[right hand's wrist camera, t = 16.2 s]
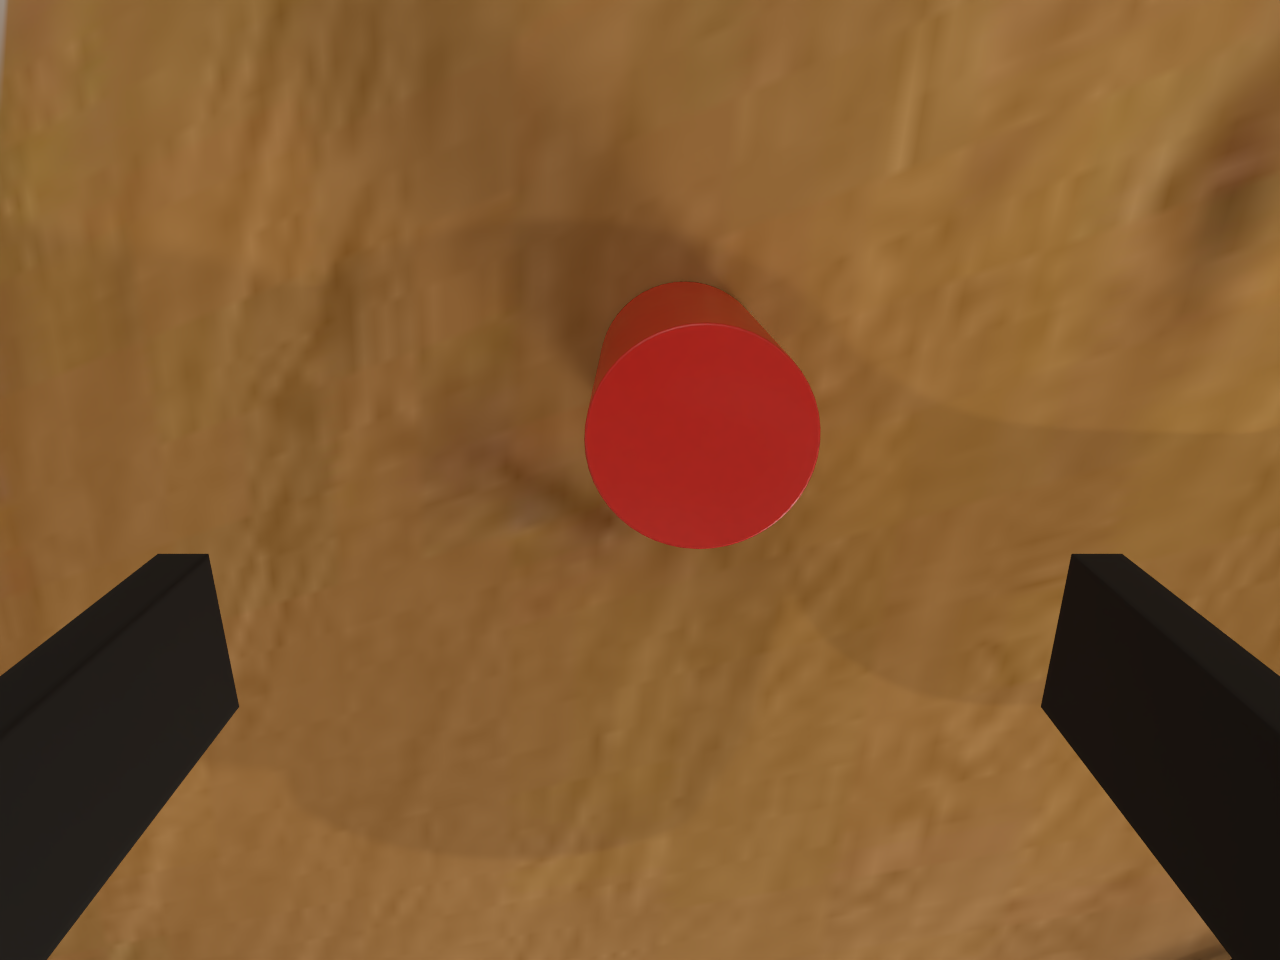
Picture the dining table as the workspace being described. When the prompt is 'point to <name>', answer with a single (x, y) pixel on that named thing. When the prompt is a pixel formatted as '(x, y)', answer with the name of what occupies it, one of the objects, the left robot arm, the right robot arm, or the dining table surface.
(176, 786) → the right robot arm
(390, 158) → the dining table surface
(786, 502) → the canister
